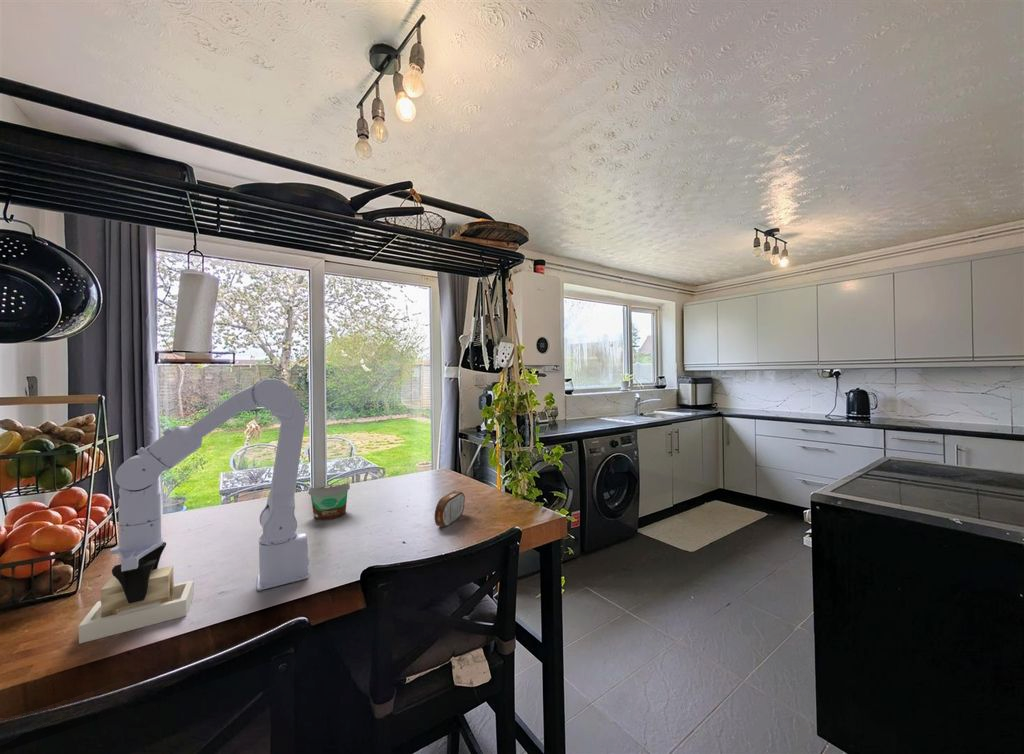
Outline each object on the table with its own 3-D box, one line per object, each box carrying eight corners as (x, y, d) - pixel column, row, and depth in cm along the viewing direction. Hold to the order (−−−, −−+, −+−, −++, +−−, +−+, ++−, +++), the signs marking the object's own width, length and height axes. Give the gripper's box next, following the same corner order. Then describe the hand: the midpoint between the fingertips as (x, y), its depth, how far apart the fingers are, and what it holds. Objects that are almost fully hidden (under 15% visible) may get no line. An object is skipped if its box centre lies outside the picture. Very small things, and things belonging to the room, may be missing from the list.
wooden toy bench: (101, 626, 68) (100, 589, 68) (110, 613, 72) (109, 578, 72) (168, 609, 73) (168, 575, 73) (173, 598, 77) (173, 565, 77)
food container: (312, 524, 118) (311, 491, 118) (308, 518, 123) (308, 487, 123) (354, 515, 125) (354, 484, 125) (349, 510, 130) (349, 480, 130)
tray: (193, 594, 80) (193, 579, 80) (186, 615, 73) (186, 599, 73) (97, 617, 73) (97, 601, 73) (79, 643, 66) (78, 625, 66)
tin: (457, 513, 126) (457, 487, 126) (466, 514, 125) (466, 487, 125) (433, 530, 112) (433, 501, 112) (443, 532, 111) (442, 502, 111)
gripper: (123, 513, 77) (124, 582, 77) (95, 538, 65) (96, 620, 65) (170, 506, 81) (171, 572, 81) (152, 529, 68) (153, 606, 68)
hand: (141, 593), depth 73 cm, fingers open, 6 cm apart
